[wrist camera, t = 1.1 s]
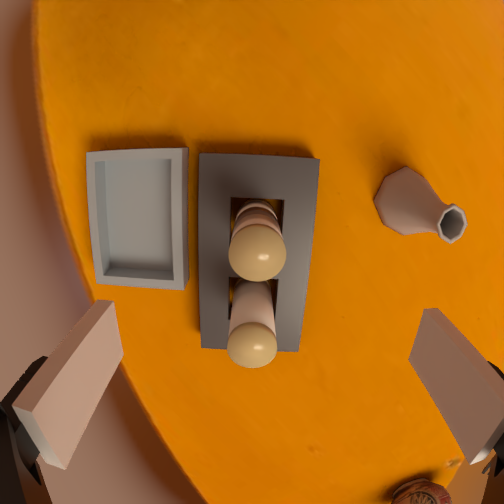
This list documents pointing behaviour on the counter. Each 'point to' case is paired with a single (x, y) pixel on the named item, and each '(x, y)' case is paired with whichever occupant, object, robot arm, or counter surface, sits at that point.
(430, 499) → the ceramic jug
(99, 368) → the robot arm
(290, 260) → the block
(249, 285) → the cylinder
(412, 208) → the flask
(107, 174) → the parts tray
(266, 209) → the cylinder
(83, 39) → the counter surface
